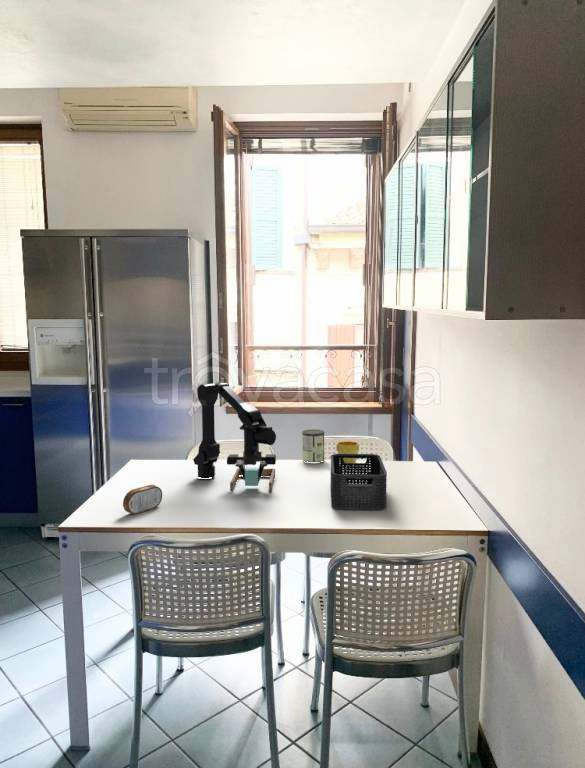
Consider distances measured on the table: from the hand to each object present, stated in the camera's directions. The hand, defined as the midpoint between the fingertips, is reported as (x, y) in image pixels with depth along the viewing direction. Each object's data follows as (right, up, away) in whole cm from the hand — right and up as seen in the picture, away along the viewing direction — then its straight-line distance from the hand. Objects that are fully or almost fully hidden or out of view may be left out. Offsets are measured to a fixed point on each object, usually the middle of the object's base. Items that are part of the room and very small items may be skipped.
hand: (252, 480), depth 222 cm
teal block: (0, -1, 0) cm, 1 cm away
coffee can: (+25, +2, +43) cm, 50 cm away
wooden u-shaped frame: (0, -2, +7) cm, 8 cm away
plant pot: (+41, +1, +37) cm, 55 cm away
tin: (-36, -7, -24) cm, 44 cm away
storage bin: (+40, -5, -10) cm, 41 cm away
